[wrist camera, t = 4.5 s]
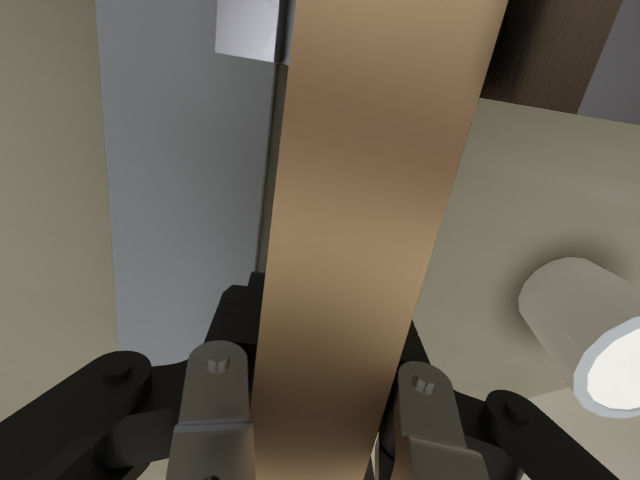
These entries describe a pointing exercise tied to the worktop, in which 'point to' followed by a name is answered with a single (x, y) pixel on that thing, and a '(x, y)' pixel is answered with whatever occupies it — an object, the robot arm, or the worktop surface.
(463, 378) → the worktop surface
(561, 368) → the beige white-topped cylinder
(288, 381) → the oak rail
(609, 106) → the charcoal rack
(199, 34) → the slate mat
